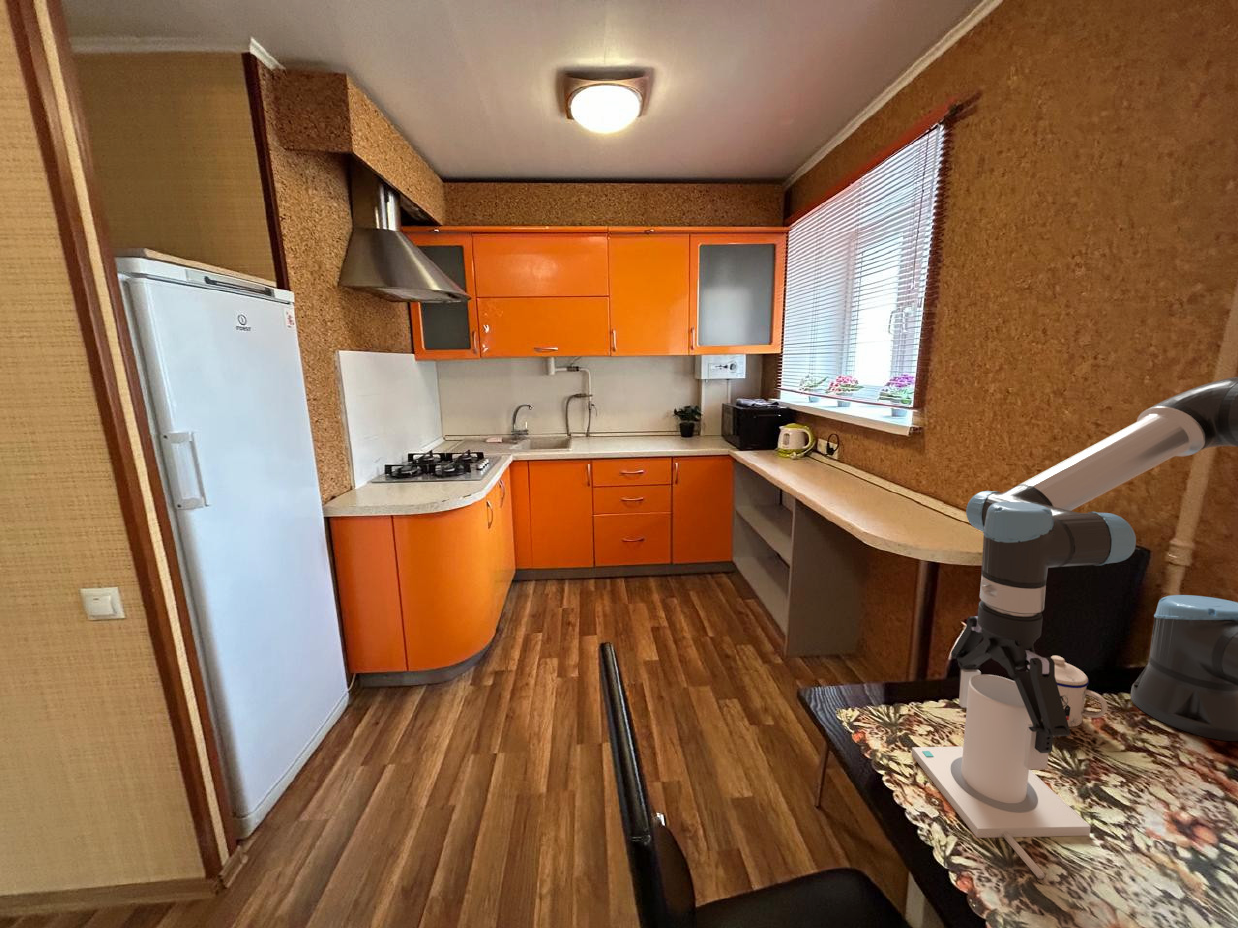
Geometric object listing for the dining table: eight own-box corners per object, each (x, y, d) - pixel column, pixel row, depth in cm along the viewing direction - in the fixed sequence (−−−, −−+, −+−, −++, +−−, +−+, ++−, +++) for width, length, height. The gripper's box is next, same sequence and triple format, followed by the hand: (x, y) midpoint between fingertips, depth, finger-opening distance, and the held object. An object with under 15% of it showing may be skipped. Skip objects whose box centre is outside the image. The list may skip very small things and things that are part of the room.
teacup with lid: (1013, 708, 97) (1019, 654, 95) (1031, 692, 102) (1037, 640, 100) (1095, 744, 87) (1103, 684, 85) (1111, 725, 92) (1119, 667, 90)
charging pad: (1003, 752, 86) (1004, 744, 86) (1132, 876, 64) (1134, 865, 64) (911, 754, 86) (912, 746, 86) (1009, 879, 64) (1010, 868, 64)
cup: (1038, 807, 73) (1050, 709, 70) (976, 799, 75) (985, 703, 72) (1007, 765, 81) (1016, 676, 78) (951, 759, 83) (959, 671, 80)
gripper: (932, 575, 86) (925, 686, 89) (1058, 651, 61) (1042, 801, 64) (975, 573, 85) (967, 685, 89) (1119, 648, 61) (1100, 799, 64)
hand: (998, 734), depth 76 cm, fingers open, 13 cm apart
